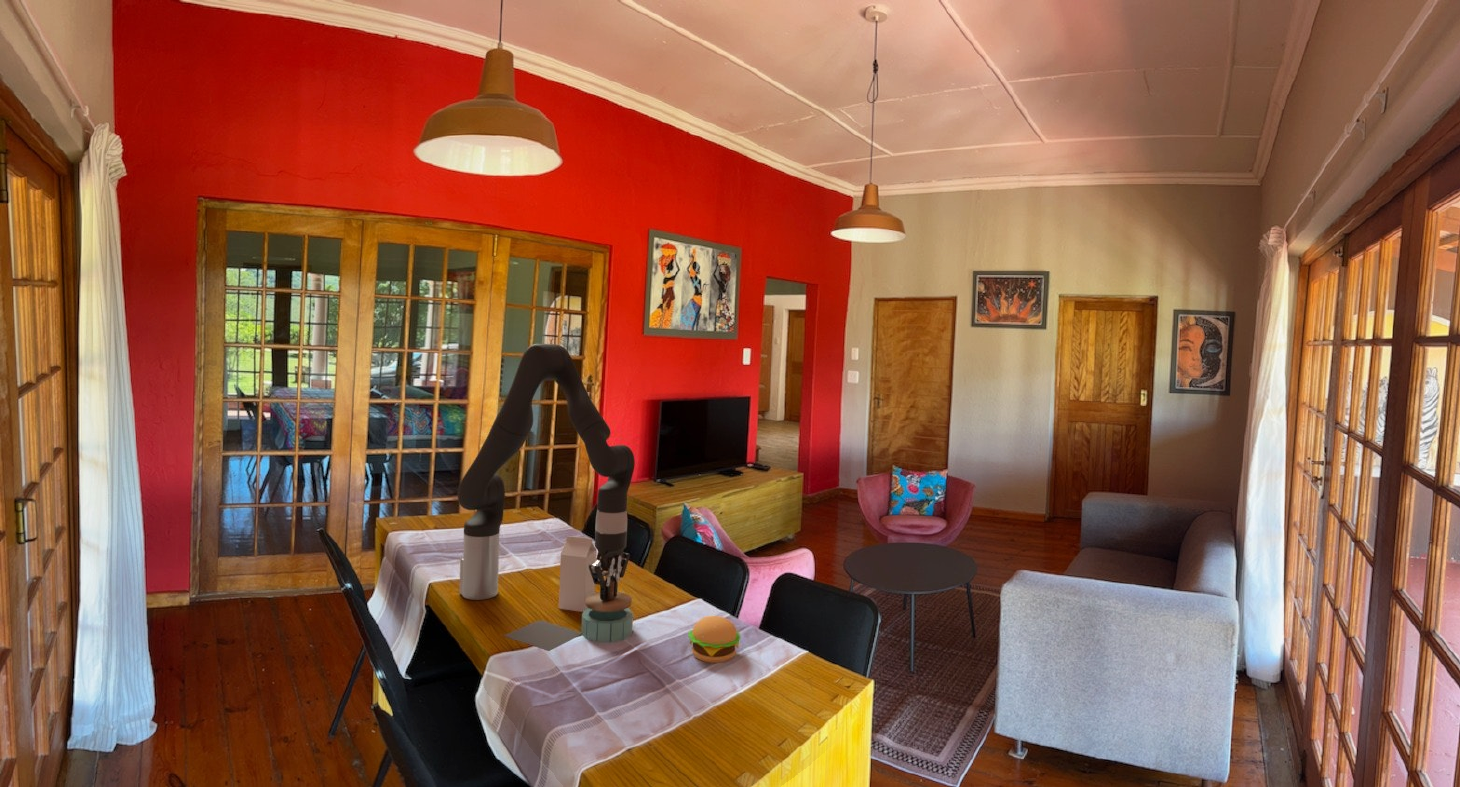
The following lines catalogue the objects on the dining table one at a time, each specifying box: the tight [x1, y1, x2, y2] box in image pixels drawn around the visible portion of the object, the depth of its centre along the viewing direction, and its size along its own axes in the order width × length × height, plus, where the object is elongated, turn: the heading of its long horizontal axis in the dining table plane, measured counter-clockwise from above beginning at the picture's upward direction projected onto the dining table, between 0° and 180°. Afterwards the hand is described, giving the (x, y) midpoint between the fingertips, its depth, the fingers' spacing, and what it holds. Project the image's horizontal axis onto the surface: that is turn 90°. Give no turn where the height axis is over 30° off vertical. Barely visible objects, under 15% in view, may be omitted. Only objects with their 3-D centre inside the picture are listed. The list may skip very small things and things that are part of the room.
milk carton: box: [558, 535, 597, 613], centre depth 192 cm, size 7×7×19 cm
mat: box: [503, 619, 582, 652], centre depth 173 cm, size 14×12×1 cm
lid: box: [586, 579, 632, 612], centre depth 176 cm, size 11×11×6 cm
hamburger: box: [688, 615, 741, 664], centre depth 168 cm, size 12×12×9 cm
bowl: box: [580, 607, 634, 643], centre depth 177 cm, size 12×12×5 cm
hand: (608, 598), depth 176 cm, fingers closed on lid, 2 cm apart
